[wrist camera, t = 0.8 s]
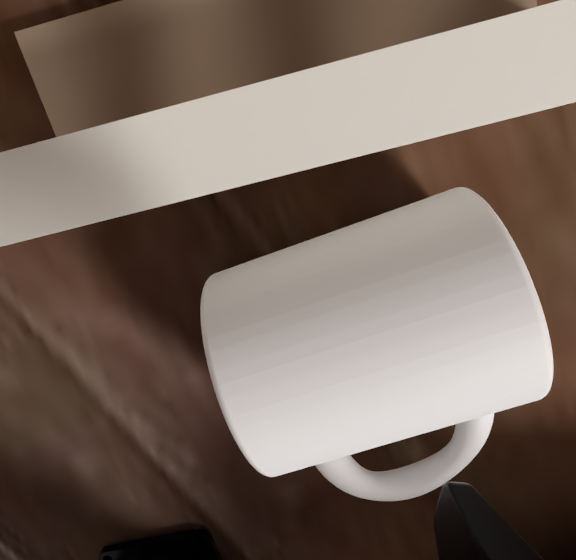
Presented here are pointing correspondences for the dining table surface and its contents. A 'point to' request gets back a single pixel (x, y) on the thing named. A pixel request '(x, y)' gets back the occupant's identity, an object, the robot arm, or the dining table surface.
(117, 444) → the dining table surface
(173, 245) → the dining table surface
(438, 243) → the mug
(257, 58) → the screen
